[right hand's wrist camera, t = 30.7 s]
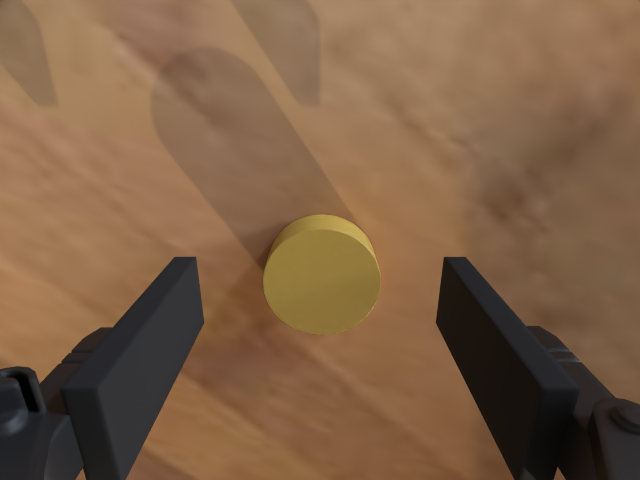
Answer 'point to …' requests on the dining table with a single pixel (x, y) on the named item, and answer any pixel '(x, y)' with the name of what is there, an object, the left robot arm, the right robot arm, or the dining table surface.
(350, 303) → the cap
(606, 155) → the dining table surface
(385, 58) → the dining table surface
